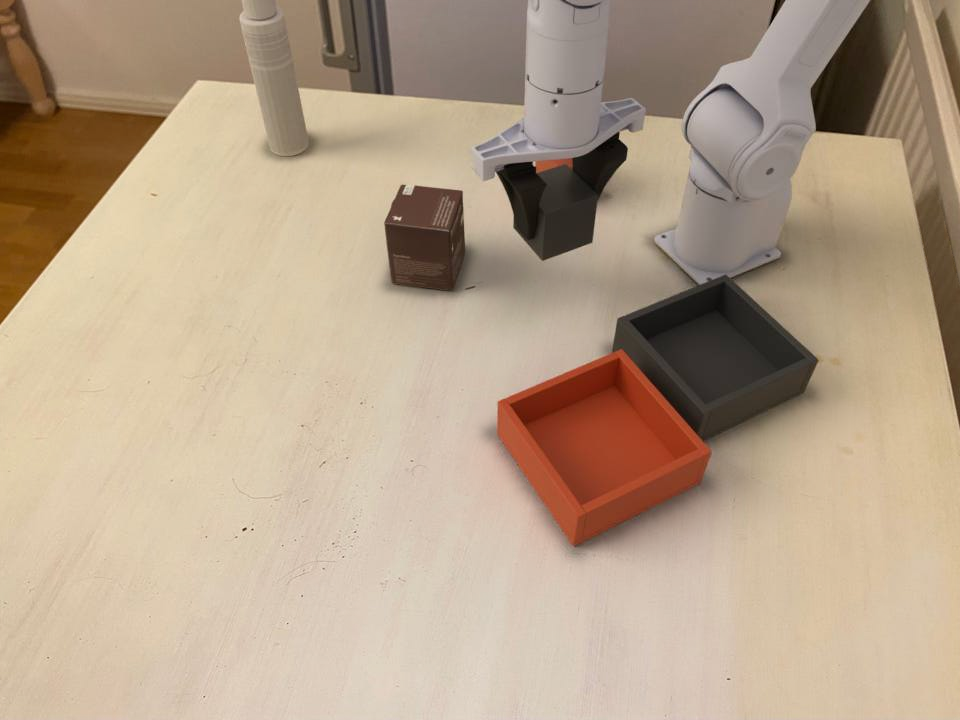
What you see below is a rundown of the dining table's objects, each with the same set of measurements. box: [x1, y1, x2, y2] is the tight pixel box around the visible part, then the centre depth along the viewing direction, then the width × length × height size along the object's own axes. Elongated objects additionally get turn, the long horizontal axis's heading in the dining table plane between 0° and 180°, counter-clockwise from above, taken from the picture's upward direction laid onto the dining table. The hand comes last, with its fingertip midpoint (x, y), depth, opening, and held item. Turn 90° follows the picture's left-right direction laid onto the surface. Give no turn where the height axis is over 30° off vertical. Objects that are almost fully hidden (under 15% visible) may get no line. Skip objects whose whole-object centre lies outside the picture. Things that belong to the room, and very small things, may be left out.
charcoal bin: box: [611, 274, 820, 442], centre depth 67 cm, size 11×11×4 cm
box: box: [383, 184, 466, 291], centre depth 75 cm, size 6×6×7 cm
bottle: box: [238, 0, 310, 157], centre depth 84 cm, size 4×4×20 cm
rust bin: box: [496, 349, 712, 547], centre depth 61 cm, size 11×11×4 cm
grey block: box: [512, 164, 599, 262], centre depth 68 cm, size 5×5×5 cm
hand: (553, 222), depth 69 cm, fingers closed on grey block, 5 cm apart
